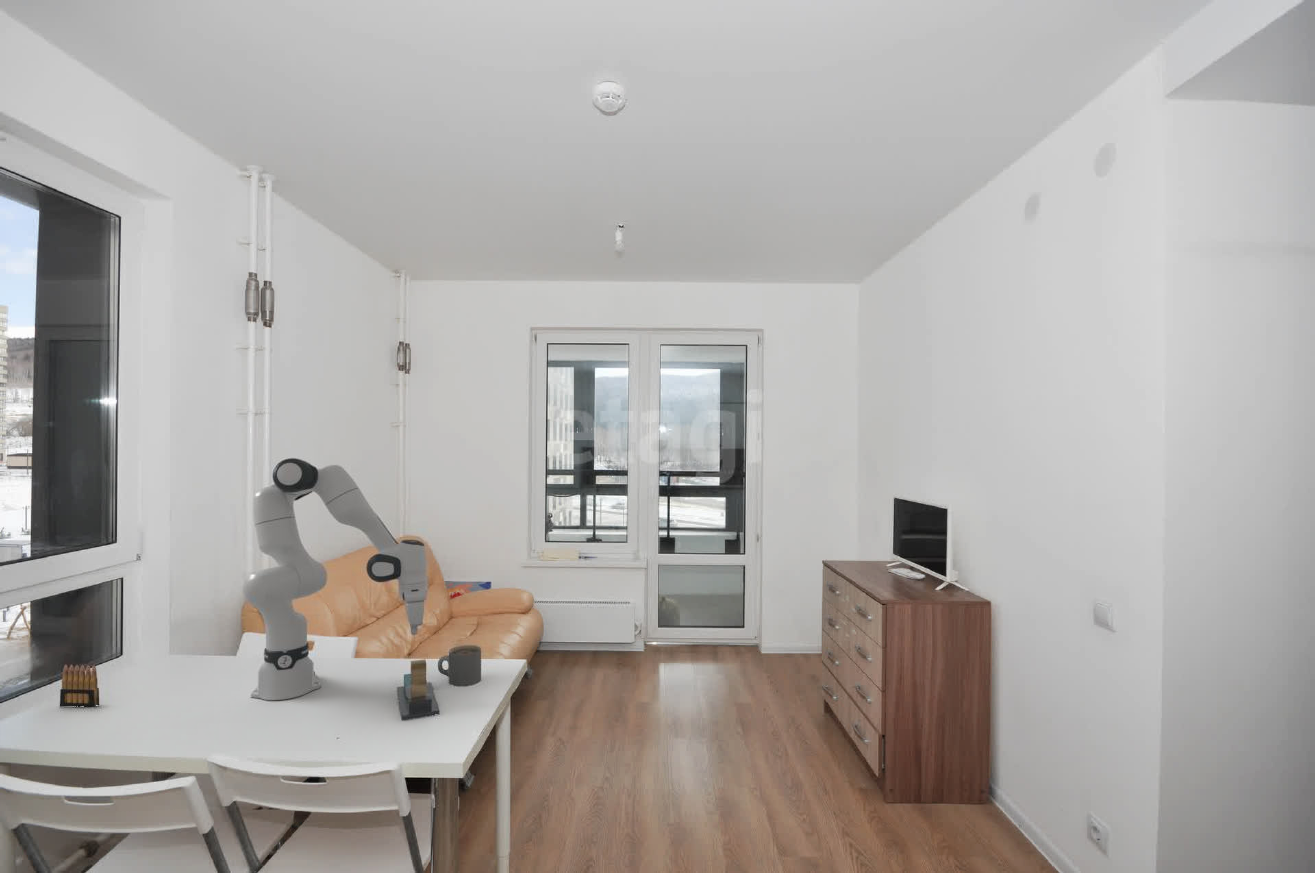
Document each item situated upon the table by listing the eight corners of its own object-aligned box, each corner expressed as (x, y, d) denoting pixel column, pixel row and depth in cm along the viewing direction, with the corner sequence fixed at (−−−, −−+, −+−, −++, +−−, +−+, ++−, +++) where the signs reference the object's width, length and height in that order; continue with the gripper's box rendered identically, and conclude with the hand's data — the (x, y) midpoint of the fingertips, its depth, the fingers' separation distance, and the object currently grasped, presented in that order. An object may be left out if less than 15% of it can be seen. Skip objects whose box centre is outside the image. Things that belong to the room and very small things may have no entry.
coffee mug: (485, 675, 218) (485, 645, 218) (474, 687, 208) (474, 655, 208) (446, 674, 219) (446, 644, 219) (433, 685, 209) (433, 653, 209)
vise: (396, 690, 205) (396, 677, 205) (430, 685, 209) (430, 672, 209) (401, 720, 183) (401, 705, 183) (439, 714, 187) (439, 699, 187)
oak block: (410, 702, 192) (410, 661, 192) (425, 700, 194) (425, 659, 194) (411, 706, 189) (411, 664, 189) (426, 704, 191) (426, 662, 191)
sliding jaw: (403, 684, 206) (403, 674, 206) (424, 681, 209) (424, 671, 209) (406, 697, 195) (406, 687, 195) (427, 694, 198) (427, 684, 198)
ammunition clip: (59, 706, 192) (59, 665, 193) (65, 704, 194) (65, 663, 194) (93, 707, 192) (94, 666, 192) (99, 705, 194) (99, 664, 194)
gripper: (400, 585, 221) (401, 627, 220) (404, 597, 202) (405, 643, 202) (420, 583, 223) (421, 624, 223) (426, 595, 205) (427, 640, 204)
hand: (414, 633), depth 212 cm, fingers closed
